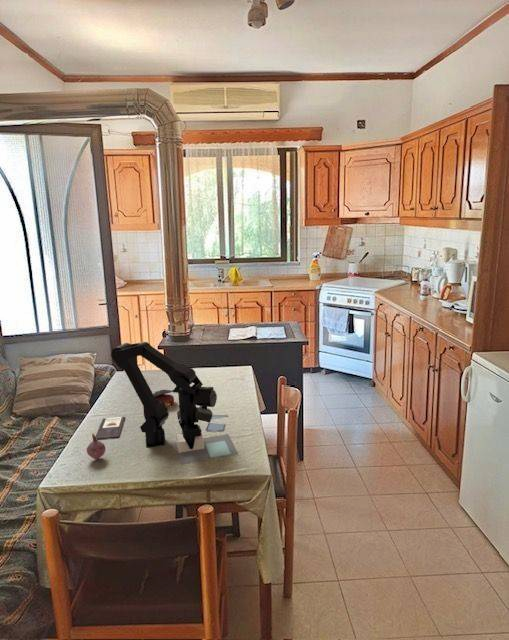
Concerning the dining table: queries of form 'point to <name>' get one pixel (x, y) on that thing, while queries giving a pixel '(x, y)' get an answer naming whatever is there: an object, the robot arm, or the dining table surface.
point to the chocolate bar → (110, 428)
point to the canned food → (164, 397)
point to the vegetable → (96, 448)
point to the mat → (209, 450)
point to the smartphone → (214, 426)
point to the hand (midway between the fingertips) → (190, 444)
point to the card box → (184, 446)
